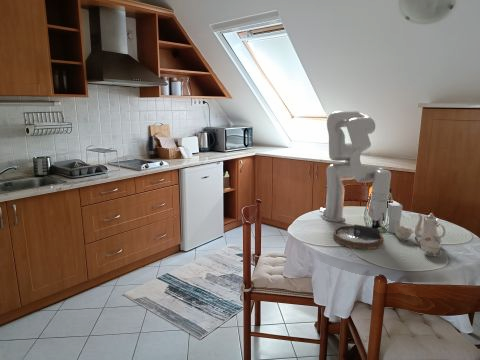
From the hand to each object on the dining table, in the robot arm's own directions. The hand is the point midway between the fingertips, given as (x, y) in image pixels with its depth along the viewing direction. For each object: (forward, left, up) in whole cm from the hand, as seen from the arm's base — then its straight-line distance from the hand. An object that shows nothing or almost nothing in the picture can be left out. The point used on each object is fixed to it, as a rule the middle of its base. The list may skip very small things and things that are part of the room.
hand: (375, 232), depth 171 cm
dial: (-6, -5, -3) cm, 8 cm away
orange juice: (-15, +37, -4) cm, 40 cm away
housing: (-6, -5, -4) cm, 9 cm away
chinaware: (+19, +9, -5) cm, 21 cm away
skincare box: (0, +20, -4) cm, 20 cm away
